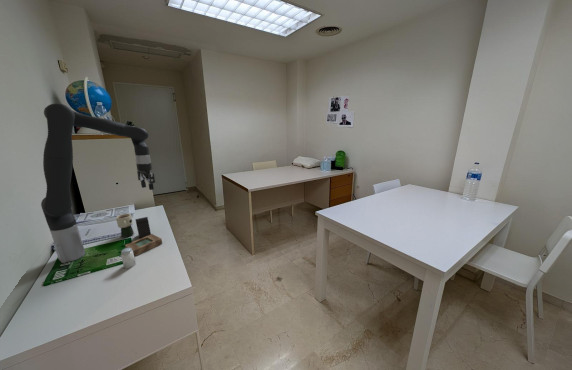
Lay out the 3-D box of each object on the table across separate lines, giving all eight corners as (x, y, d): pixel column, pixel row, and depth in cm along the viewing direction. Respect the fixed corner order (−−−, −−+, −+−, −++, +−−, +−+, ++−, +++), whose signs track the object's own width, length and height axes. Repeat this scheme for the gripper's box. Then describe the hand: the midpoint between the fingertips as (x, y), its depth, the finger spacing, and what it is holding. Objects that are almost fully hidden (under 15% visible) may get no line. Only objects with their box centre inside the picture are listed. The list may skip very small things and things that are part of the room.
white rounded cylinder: (126, 269, 98) (123, 254, 96) (122, 266, 101) (118, 250, 98) (137, 264, 102) (134, 249, 100) (132, 261, 104) (129, 246, 102)
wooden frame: (135, 256, 108) (134, 250, 108) (126, 250, 113) (124, 245, 112) (162, 243, 120) (161, 238, 119) (152, 238, 125) (152, 233, 124)
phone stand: (138, 234, 129) (134, 217, 126) (150, 231, 133) (146, 214, 129) (139, 241, 122) (135, 222, 119) (151, 237, 126) (148, 219, 123)
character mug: (135, 237, 126) (131, 217, 123) (120, 241, 122) (115, 220, 119) (134, 230, 135) (130, 211, 131) (120, 233, 130) (115, 214, 127)
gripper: (130, 162, 125) (135, 188, 129) (143, 164, 118) (147, 191, 122) (144, 160, 131) (147, 185, 135) (156, 162, 124) (160, 189, 129)
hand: (147, 188), depth 129 cm, fingers open, 8 cm apart
